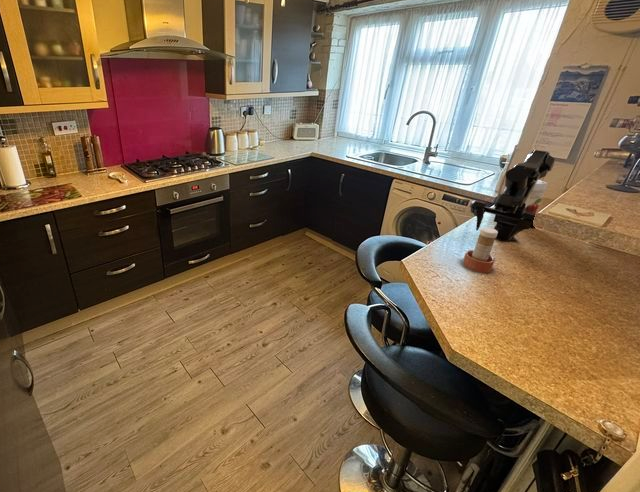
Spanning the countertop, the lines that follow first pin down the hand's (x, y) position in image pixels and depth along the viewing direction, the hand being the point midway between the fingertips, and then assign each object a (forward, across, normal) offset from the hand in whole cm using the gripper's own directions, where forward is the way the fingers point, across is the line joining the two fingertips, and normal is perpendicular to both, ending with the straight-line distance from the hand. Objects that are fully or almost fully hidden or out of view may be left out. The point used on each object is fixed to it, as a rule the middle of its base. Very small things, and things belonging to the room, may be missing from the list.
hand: (492, 234), depth 110 cm
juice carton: (-26, +1, +40) cm, 48 cm away
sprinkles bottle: (+12, 0, +1) cm, 12 cm away
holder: (+12, 0, +1) cm, 12 cm away
